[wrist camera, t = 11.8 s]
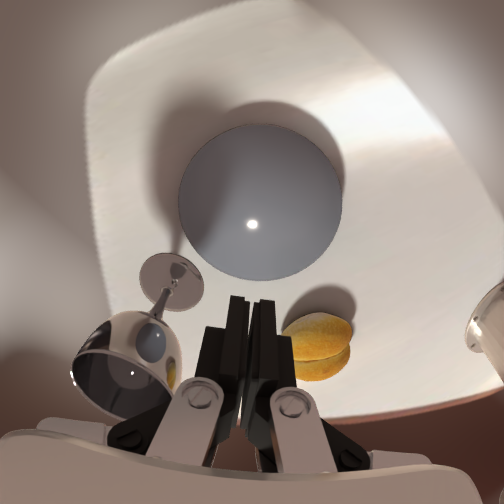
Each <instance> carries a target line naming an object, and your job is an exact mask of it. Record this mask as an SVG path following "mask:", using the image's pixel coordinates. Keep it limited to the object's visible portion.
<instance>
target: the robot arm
mask: <svg viewBox="0 0 504 504" xmlns="http://www.w3.org/2000/svg"><path fill="white" fill-rule="evenodd" d="M502 287H503V289H502V290H501V288H502ZM249 309H250V302H249V301H245V297H240V296H232V295H231V297H230V303H229V310H228V316H227V323H226V329H224V328H216V327H209V326H206V328H205V333H204V337H203V341H202V346H201V350H200V354H199V359H198V363H197V368H196V372H195V377H193V378H190V379H187V380H185V381H183V382H182V383H181V384H180V385H179V387H178V388H177V390H176V392H175V394H174V396H173V398H172V399H171V400H169V401H167V402H165V403H163V404H161V405H158V406H156V407H154V408H152V409H150V410H148V411H145V412H143V413H141V414H139V415H136V416H134V417H132V418H130V419H127V420H125V421H123V422H120V423H118V424H117V425H115V426H114V427H110V426H105V424H104V423H93V422H85V421H76V420H69V419H62V418H53V417H52V418H46V419H43V420H42V421H41V422H40V423H39V424H38V426H37V428H36V429H24V430H16V431H12V432H9V433H8V434H6V435H4V436H3V437H2V438H1V439H0V504H483V503H482V500H481V498H480V495H479V493H478V491H477V489H476V487H475V485H474V483H473V481H472V480H471V479H470V477H469V476H468V475H467V474H466V473H464V472H463V471H461V470H459V469H456V468H452V467H448V466H442V465H434V464H432V463H431V462H430V460H429V459H428V458H427V457H425V456H424V455H421V454H412V453H399V452H386V451H378V450H373V451H372V452H366V450H364V449H363V448H362V447H361V446H360V445H358V444H357V443H355V442H354V441H352V440H351V439H349V438H348V437H346V436H345V435H344V434H342V433H341V432H339V431H338V430H337V429H335V428H334V427H332V426H331V425H330V424H328V423H327V422H326V421H324V420H323V419H322V418H320V416H319V413H318V410H317V407H316V404H315V401H314V399H313V398H312V396H311V395H310V394H309V393H307V392H306V391H304V390H302V389H299V388H297V385H296V375H295V366H294V356H293V347H292V339H291V336H283V335H277V333H276V315H275V301H272V300H263V299H260V302H259V303H257V302H254V306H253V312H252V318H251V324H250V329H249V335H248V326H249ZM476 316H477V317H476ZM474 317H476V318H475V319H474ZM465 343H466V345H467V347H468V348H469V349H470V350H471V351H473V352H476V353H482V352H484V353H485V355H486V356H487V358H488V359H489V361H490V362H491V364H492V365H493V367H494V368H495V370H496V371H497V373H498V375H499V376H500V378H501V379H502V381H503V383H504V282H503V283H501V284H499V285H497V286H496V287H495V288H493V289H492V290H491V291H490V292H489V293H488V294H487V295H486V296H485V297H484V298H483V299H482V300H481V301H480V303H479V304H478V305H477V307H476V308H475V310H474V311H473V313H472V315H471V317H470V319H469V321H468V324H467V327H466V330H465ZM472 344H473V345H472ZM241 398H242V407H241V422H240V428H241V429H246V433H245V437H248V440H249V441H250V442H251V443H252V444H254V446H255V454H256V460H257V466H258V472H246V471H235V470H225V469H217V468H211V467H212V464H213V461H214V457H215V454H216V451H217V448H218V444H219V443H221V442H223V441H224V440H226V439H227V438H229V435H230V429H231V428H236V423H237V418H238V413H239V408H240V403H241ZM499 504H504V489H503V491H502V493H501V496H500V501H499Z"/></svg>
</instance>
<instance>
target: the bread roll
mask: <svg viewBox="0 0 504 504" xmlns="http://www.w3.org/2000/svg"><path fill="white" fill-rule="evenodd" d="M281 335H283V336H291V339H292V347H293V356H294V366H295V375H296V378H297V379H300V380H304V381H320V380H324V379H327V378H330V377H331V376H333V375H335V374H337V373H338V372H339V371H340V370H341V369H342V368H343V367H344V366H345V365H346V364H347V362H348V360H349V357H350V345H349V342H350V340H351V337H352V329H351V327H350V325H349V323H348V322H347V321H345V320H343V319H341V318H339V317H336V316H334V315H331V314H327V313H323V312H318V313H312V314H309V315H306V316H303V317H301V318H299V319H297V320H296V321H294V322H293V323H292V324H290V325H289V326H288V327H287V328H286V329H285V330H284V331H283V333H282V334H281Z"/></svg>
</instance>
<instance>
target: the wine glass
mask: <svg viewBox="0 0 504 504" xmlns="http://www.w3.org/2000/svg"><path fill="white" fill-rule="evenodd" d="M139 280H140V285H141V288H142V290H143V293H144V294H145V295H146V297H147V298H148V299H149V300H150V301H151V302H152V303H153V304H155V305H154V306H153V308H152V309H151V310H150V311H148V312H143V311H125V312H120V313H118V314H116V315H114V316H112V317H110V318H109V319H108V320H106V321H105V322H104V323H103V324H101V325H100V326H99V327H98V328H97V329H96V330H95V331H94V332H93V333H92V334H91V335H90V336H89V338H88V339H87V340H86V342H85V343H84V344H83V346H82V347H81V348H80V350H79V351H78V353H77V355H76V356H75V358H74V360H73V362H72V365H71V376H72V379H73V381H74V384H75V385H76V387H77V389H78V390H79V391H80V393H81V394H82V395H83V396H84V397H85V398H86V399H87V400H88V401H89V402H90V403H91V404H92V405H94V406H95V407H96V408H98V409H99V410H101V411H102V412H104V413H106V414H108V415H110V416H111V417H114V418H116V419H118V420H121V421H125V420H127V419H130V418H132V417H134V416H136V415H139V414H141V413H143V412H145V411H148V410H150V409H152V408H154V407H156V406H158V405H161V404H163V403H165V402H167V401H169V400H171V399H172V398H173V396H174V394H175V392H176V390H177V388H178V387H179V385H180V384H181V379H182V352H181V347H180V344H179V341H178V339H177V337H176V335H175V334H174V332H173V331H172V329H171V328H170V327H169V326H168V325H167V324H166V323H165V322H164V321H163V312H164V310H168V311H173V312H181V311H186V310H188V309H191V308H192V307H194V306H195V305H196V304H198V302H199V301H200V300H201V298H202V295H203V291H204V284H203V279H202V277H201V274H200V273H199V271H198V269H197V268H196V267H195V266H194V265H193V264H192V263H191V262H190V261H188V260H187V259H185V258H183V257H181V256H178V255H175V254H169V253H163V254H158V255H154V256H152V257H150V258H149V259H148V260H146V262H145V263H144V264H143V266H142V268H141V270H140V276H139Z"/></svg>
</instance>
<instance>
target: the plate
mask: <svg viewBox="0 0 504 504" xmlns="http://www.w3.org/2000/svg"><path fill="white" fill-rule="evenodd" d="M178 208H179V215H180V220H181V224H182V227H183V230H184V232H185V234H186V237H187V238H188V240H189V242H190V243H191V245H192V246H193V248H194V249H195V250H196V252H197V253H198V254H199V255H200V256H201V257H202V258H203V259H204V260H205V261H206V262H208V263H209V264H210V265H212V266H213V267H215V268H216V269H218V270H220V271H221V272H224V273H226V274H228V275H230V276H233V277H237V278H240V279H245V280H252V281H270V280H277V279H281V278H285V277H288V276H291V275H293V274H296V273H298V272H300V271H302V270H303V269H305V268H307V267H308V266H310V265H311V264H312V263H314V262H315V261H316V260H317V259H318V258H319V257H320V256H321V255H322V254H323V253H324V252H325V250H326V249H327V248H328V247H329V245H330V243H331V242H332V240H333V238H334V236H335V234H336V232H337V229H338V226H339V223H340V219H341V213H342V194H341V188H340V184H339V180H338V178H337V175H336V173H335V170H334V168H333V167H332V165H331V163H330V162H329V160H328V159H327V157H326V156H325V155H324V154H323V152H322V151H321V150H320V149H319V148H318V147H316V146H315V145H314V144H313V143H312V142H310V141H309V140H308V139H306V138H305V137H303V136H301V135H300V134H298V133H296V132H294V131H292V130H289V129H286V128H284V127H280V126H275V125H269V124H251V125H245V126H240V127H237V128H234V129H231V130H229V131H226V132H224V133H222V134H220V135H219V136H217V137H215V138H214V139H212V140H211V141H209V142H208V143H207V144H206V145H205V146H203V147H202V148H201V149H200V150H199V151H198V152H197V154H196V155H195V156H194V157H193V159H192V160H191V162H190V163H189V165H188V167H187V169H186V171H185V173H184V175H183V178H182V181H181V185H180V190H179V197H178Z"/></svg>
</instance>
